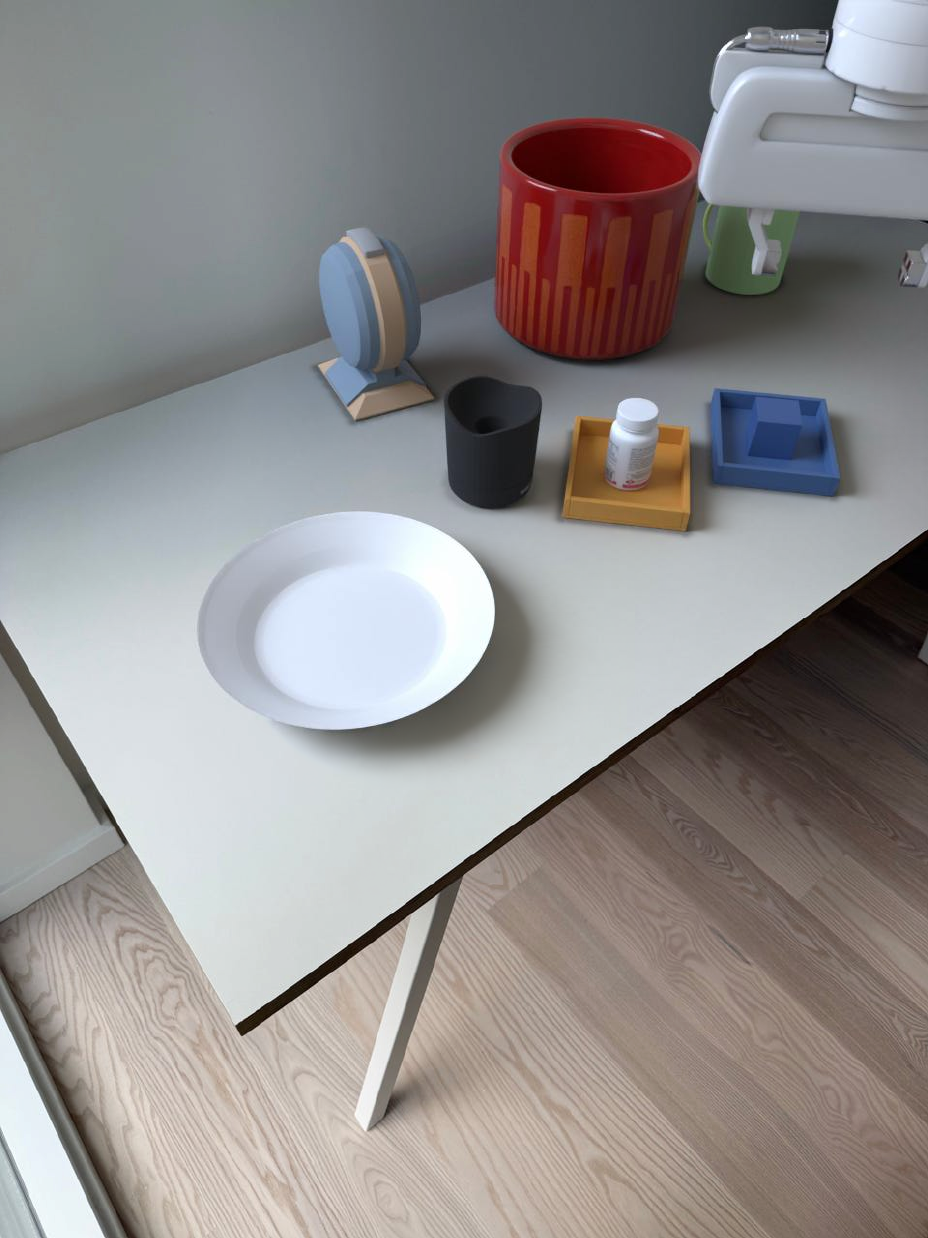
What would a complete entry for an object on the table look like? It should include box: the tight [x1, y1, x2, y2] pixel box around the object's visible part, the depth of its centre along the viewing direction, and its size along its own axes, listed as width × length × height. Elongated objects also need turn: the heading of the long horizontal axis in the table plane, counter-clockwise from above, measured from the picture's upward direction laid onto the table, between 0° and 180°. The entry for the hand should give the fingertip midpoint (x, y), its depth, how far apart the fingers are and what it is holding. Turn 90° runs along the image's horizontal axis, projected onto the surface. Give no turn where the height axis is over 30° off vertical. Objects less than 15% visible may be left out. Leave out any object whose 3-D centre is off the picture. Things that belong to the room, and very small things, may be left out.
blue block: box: [746, 397, 802, 460], centre depth 95 cm, size 4×4×4 cm
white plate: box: [196, 510, 496, 731], centre depth 77 cm, size 25×25×4 cm
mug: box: [702, 203, 801, 296], centre depth 119 cm, size 13×10×12 cm
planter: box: [493, 116, 702, 361], centre depth 108 cm, size 23×23×20 cm
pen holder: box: [443, 374, 543, 509], centre depth 89 cm, size 9×9×10 cm
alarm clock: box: [317, 226, 436, 422], centre depth 98 cm, size 14×10×18 cm
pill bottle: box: [604, 397, 660, 491], centre depth 90 cm, size 5×5×8 cm
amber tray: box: [562, 415, 691, 532], centre depth 92 cm, size 12×14×2 cm
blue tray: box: [709, 387, 841, 497], centre depth 96 cm, size 12×14×2 cm
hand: (836, 277), depth 59 cm, fingers open, 8 cm apart
